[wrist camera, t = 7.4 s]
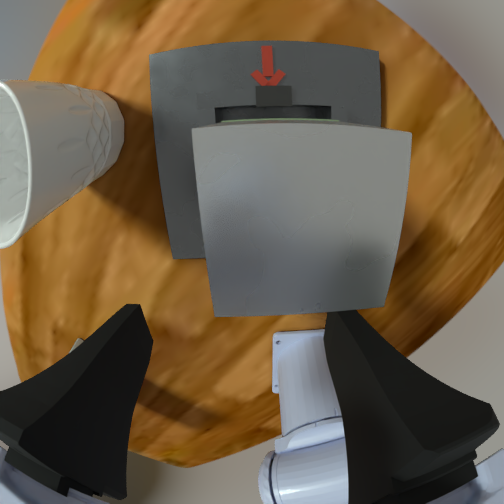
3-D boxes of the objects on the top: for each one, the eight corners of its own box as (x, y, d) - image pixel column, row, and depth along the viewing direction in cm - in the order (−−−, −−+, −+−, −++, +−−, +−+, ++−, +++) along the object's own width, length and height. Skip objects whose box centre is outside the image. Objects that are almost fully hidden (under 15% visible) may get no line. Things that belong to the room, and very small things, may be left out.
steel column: (322, 207, 12) (385, 307, 6) (233, 210, 13) (213, 318, 6) (324, 118, 10) (413, 130, 4) (227, 120, 11) (188, 126, 4)
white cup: (69, 71, 13) (-35, 70, 4) (152, 102, 15) (54, 101, 6) (39, 164, 16) (-52, 210, 7) (111, 203, 18) (25, 277, 9)
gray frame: (364, 245, 20) (389, 280, 15) (176, 252, 20) (157, 290, 16) (372, 53, 13) (407, 40, 9) (154, 57, 13) (123, 42, 9)
